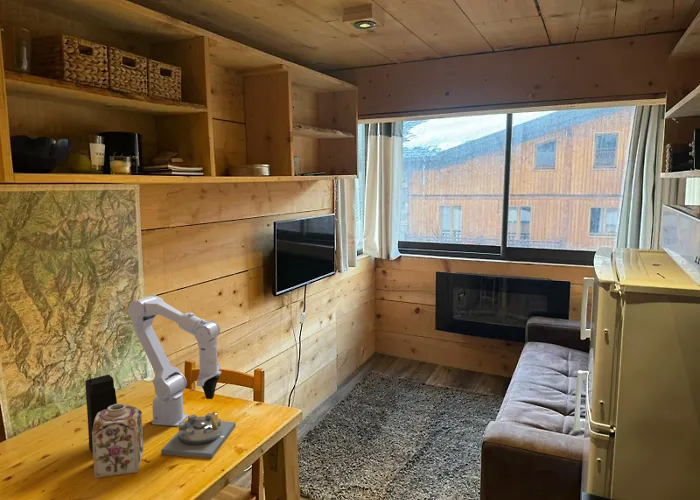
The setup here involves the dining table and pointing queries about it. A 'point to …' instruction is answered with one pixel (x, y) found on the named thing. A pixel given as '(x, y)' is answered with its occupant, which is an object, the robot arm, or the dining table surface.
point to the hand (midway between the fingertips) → (209, 398)
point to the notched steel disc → (200, 429)
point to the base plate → (202, 450)
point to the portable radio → (98, 399)
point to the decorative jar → (117, 441)
